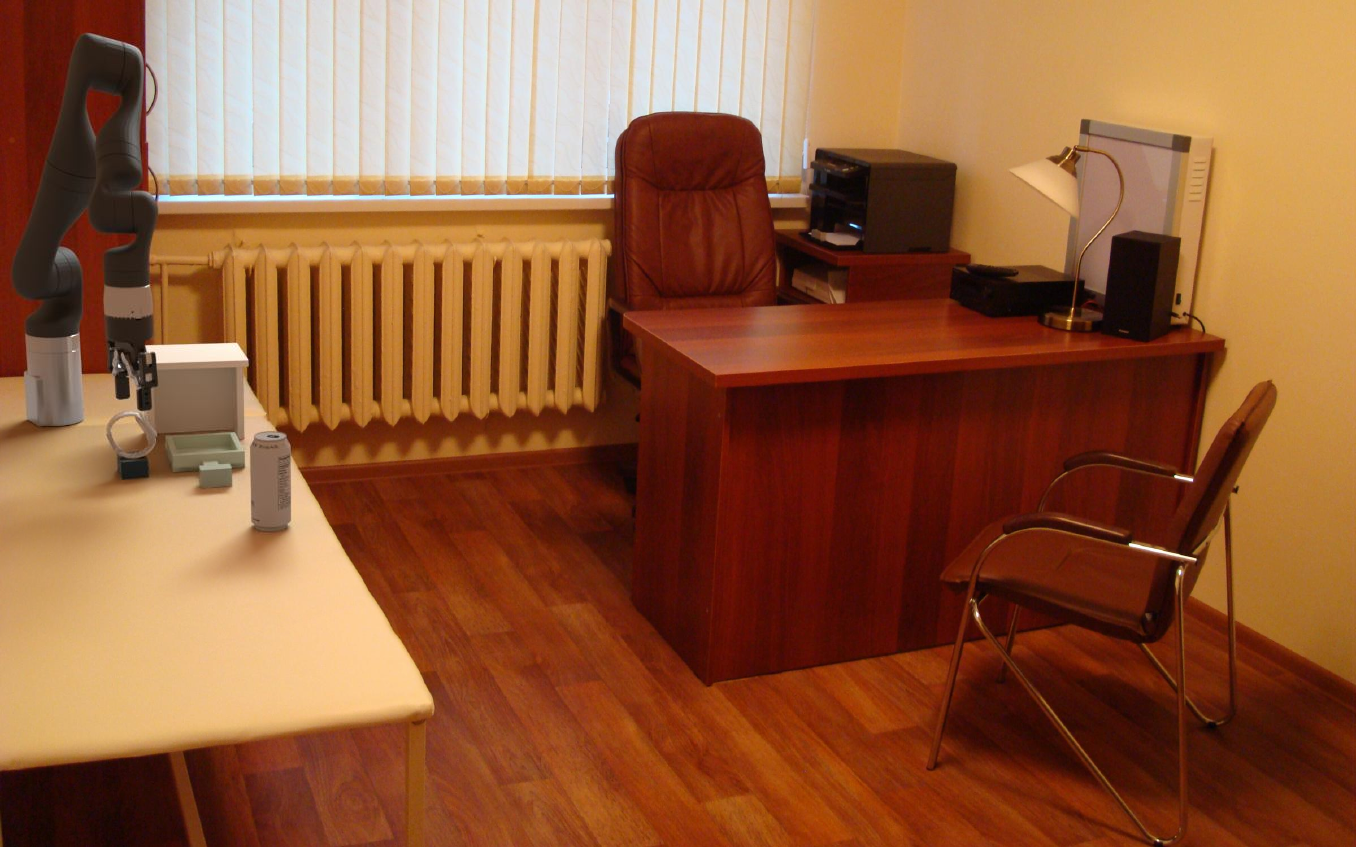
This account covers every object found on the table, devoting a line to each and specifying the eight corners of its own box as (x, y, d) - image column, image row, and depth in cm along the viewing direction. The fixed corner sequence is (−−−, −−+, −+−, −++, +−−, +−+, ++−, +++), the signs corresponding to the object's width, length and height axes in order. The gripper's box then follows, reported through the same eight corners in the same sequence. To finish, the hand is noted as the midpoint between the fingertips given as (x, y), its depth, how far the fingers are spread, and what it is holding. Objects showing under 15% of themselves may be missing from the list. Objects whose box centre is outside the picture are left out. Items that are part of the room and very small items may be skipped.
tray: (253, 484, 219) (253, 466, 218) (179, 489, 214) (178, 471, 213) (235, 447, 238) (234, 430, 237) (166, 451, 232) (165, 434, 231)
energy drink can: (260, 517, 205) (259, 428, 201) (297, 521, 205) (296, 432, 200) (245, 530, 199) (243, 439, 195) (282, 534, 199) (281, 443, 195)
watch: (161, 476, 220) (158, 415, 217) (110, 480, 216) (107, 418, 213) (156, 466, 224) (153, 406, 221) (106, 470, 221) (103, 409, 218)
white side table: (249, 448, 238) (248, 360, 233) (151, 454, 230) (148, 363, 226) (238, 427, 250) (237, 343, 245) (145, 432, 242) (141, 345, 237)
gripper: (88, 305, 215) (94, 398, 219) (124, 321, 205) (129, 417, 210) (132, 301, 220) (137, 392, 224) (169, 316, 211) (174, 410, 215)
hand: (133, 404), depth 217 cm, fingers open, 8 cm apart
